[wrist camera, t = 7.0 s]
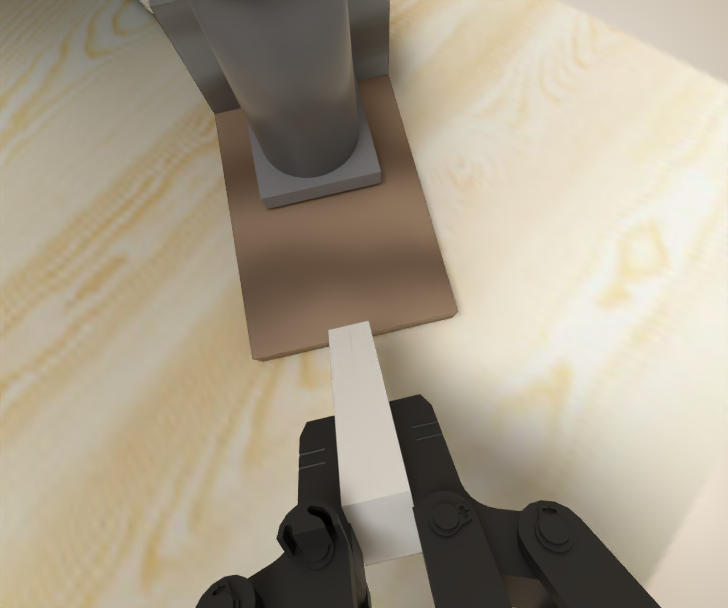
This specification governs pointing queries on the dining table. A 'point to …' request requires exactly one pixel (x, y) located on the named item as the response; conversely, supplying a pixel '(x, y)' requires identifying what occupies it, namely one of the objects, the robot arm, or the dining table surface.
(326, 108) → the knob
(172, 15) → the knob mount
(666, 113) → the dining table surface
